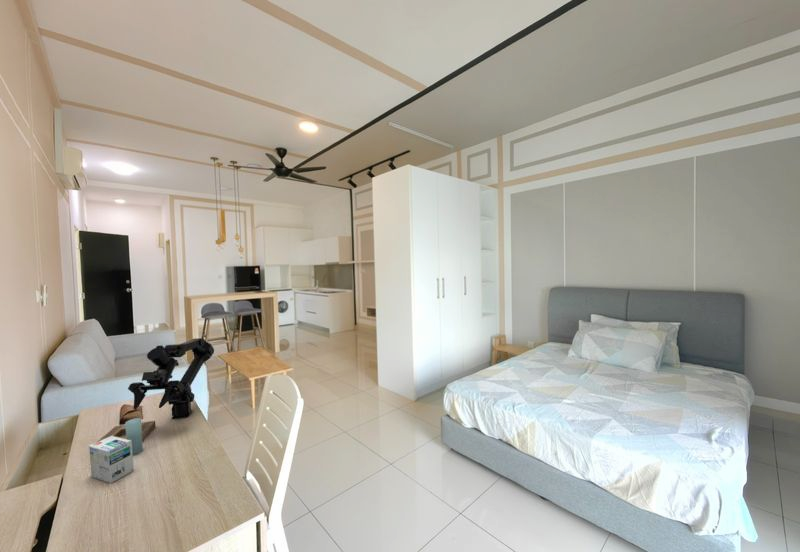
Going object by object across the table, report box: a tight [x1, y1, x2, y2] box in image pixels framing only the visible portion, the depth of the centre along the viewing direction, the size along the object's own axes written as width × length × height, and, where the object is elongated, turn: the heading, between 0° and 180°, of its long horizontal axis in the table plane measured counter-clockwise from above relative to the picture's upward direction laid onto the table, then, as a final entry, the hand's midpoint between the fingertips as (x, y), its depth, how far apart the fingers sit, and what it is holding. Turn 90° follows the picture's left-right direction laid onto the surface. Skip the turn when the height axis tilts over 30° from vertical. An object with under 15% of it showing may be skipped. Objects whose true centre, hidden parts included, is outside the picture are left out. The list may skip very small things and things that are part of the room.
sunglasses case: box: [118, 404, 144, 426], centre depth 144 cm, size 18×7×7 cm
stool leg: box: [124, 418, 144, 457], centre depth 114 cm, size 4×4×12 cm
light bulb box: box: [88, 436, 134, 484], centre depth 103 cm, size 11×7×11 cm, turn 71°
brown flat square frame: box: [96, 420, 156, 443], centre depth 124 cm, size 14×14×3 cm
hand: (147, 408), depth 121 cm, fingers open, 9 cm apart
